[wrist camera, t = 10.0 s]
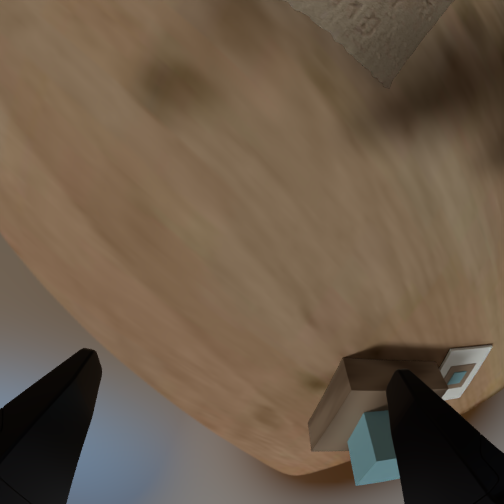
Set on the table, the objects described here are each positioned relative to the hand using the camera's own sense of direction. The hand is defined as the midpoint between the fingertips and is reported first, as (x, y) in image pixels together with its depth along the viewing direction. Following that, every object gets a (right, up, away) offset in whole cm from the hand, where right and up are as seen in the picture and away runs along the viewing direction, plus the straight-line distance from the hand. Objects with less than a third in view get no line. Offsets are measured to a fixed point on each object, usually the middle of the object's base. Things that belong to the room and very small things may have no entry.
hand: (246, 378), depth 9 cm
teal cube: (+12, -12, +16) cm, 23 cm away
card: (+21, -9, +19) cm, 30 cm away
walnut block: (+12, -10, +20) cm, 25 cm away
